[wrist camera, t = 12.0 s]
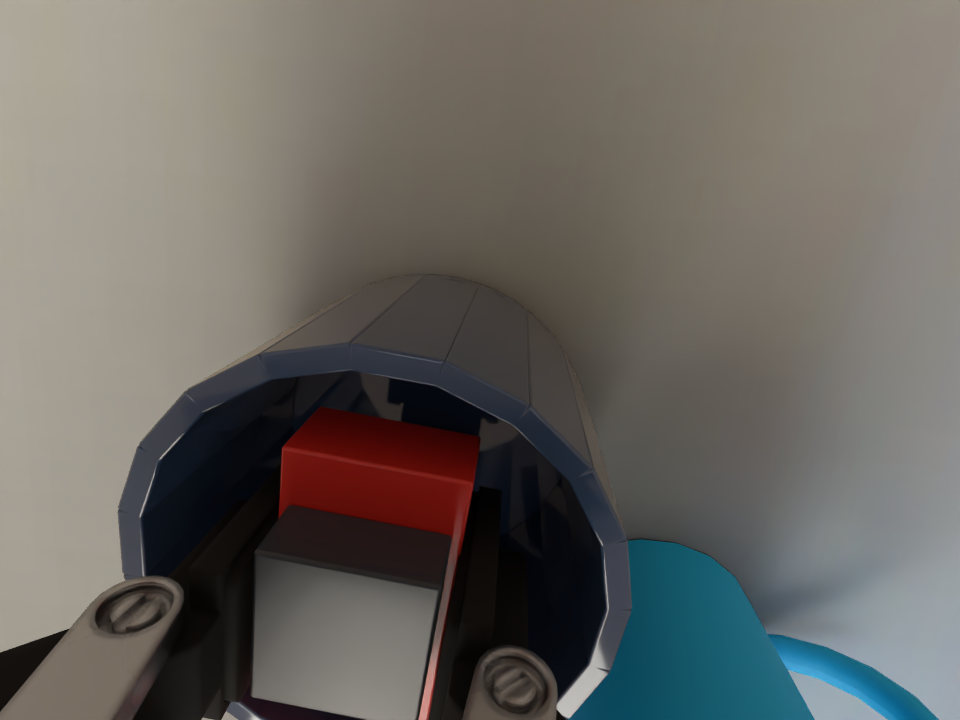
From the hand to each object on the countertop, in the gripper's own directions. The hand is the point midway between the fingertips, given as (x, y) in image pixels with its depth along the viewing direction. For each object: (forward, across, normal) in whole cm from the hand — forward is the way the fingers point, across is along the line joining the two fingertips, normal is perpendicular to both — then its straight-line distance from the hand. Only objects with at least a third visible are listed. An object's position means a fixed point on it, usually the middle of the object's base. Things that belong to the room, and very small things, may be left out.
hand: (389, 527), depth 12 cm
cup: (+5, 0, 0) cm, 5 cm away
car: (0, 0, 0) cm, 0 cm away
